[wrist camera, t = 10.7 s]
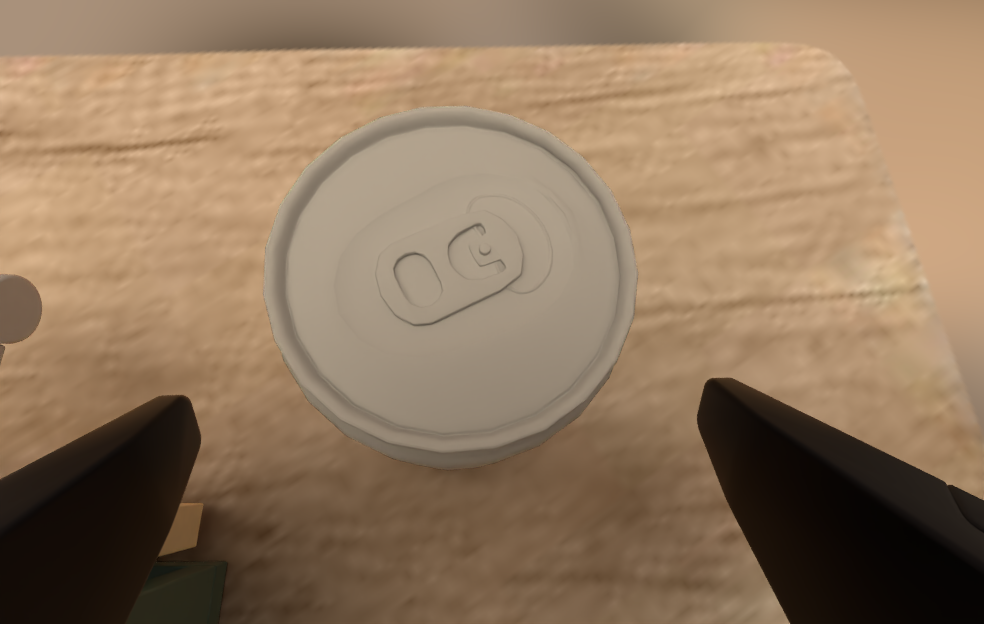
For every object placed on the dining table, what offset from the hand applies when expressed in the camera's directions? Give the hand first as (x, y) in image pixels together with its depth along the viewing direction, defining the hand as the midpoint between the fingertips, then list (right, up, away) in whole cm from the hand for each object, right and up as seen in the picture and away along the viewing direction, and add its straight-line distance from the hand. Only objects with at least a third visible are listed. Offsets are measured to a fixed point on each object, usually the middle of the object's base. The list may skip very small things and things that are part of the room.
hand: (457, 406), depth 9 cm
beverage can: (-1, -1, +9) cm, 9 cm away
